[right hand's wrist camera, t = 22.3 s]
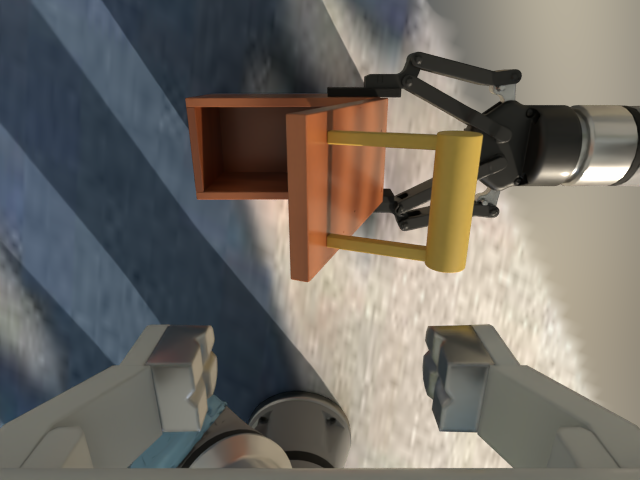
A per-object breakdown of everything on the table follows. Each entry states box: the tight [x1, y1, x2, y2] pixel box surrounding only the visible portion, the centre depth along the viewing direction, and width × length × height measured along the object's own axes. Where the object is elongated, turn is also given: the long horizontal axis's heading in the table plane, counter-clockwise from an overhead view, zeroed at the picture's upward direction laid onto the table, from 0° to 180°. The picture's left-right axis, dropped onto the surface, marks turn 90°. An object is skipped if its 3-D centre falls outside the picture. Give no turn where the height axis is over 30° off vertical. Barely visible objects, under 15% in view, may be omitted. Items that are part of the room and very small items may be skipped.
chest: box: [185, 93, 380, 199], centre depth 42 cm, size 17×9×10 cm, turn 90°
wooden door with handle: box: [286, 98, 483, 282], centre depth 28 cm, size 17×9×9 cm
